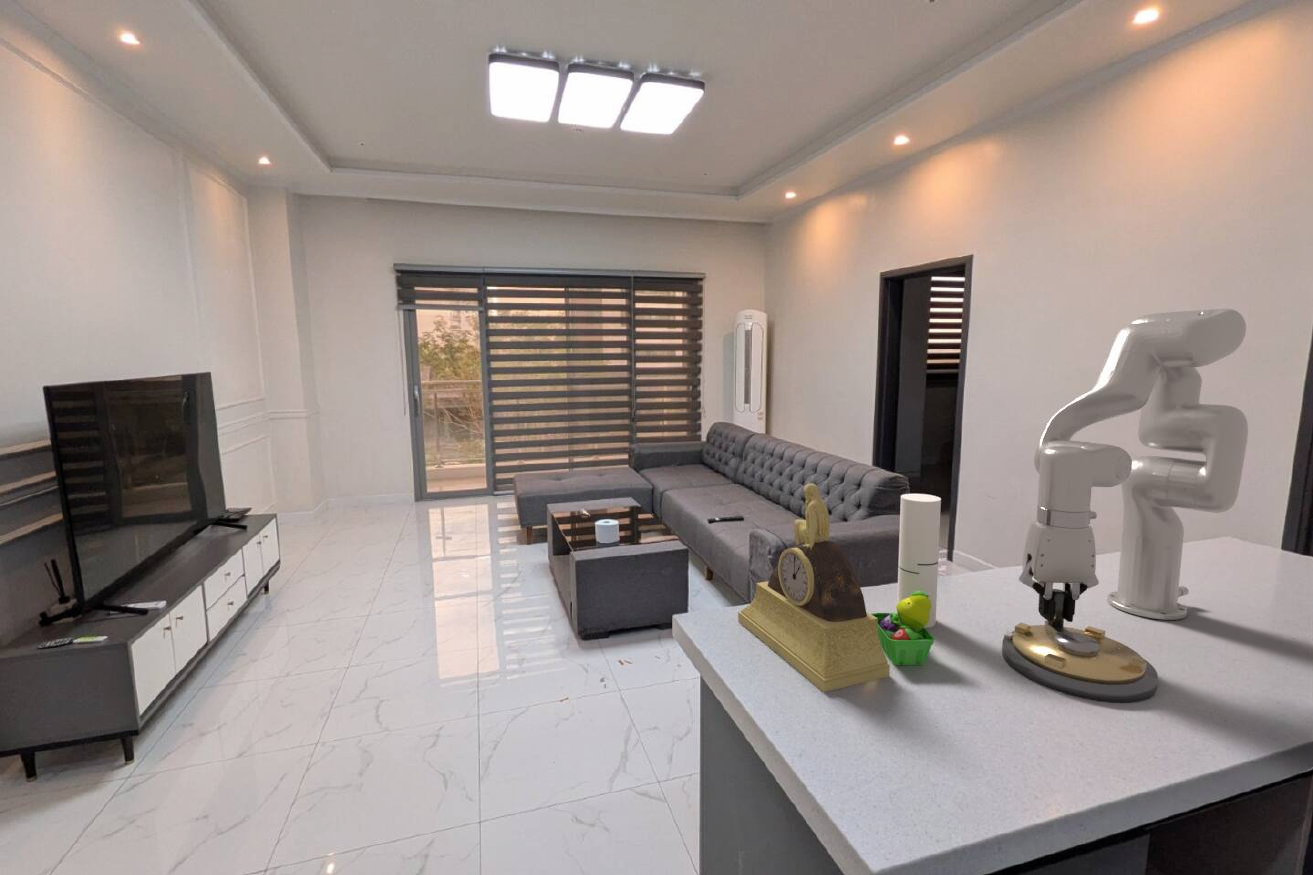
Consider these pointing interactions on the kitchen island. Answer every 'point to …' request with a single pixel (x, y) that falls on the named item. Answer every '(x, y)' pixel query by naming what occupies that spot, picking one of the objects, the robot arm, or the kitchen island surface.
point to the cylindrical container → (919, 548)
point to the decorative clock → (817, 609)
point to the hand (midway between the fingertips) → (1055, 617)
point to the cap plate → (1078, 687)
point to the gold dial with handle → (1077, 650)
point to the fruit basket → (906, 630)
